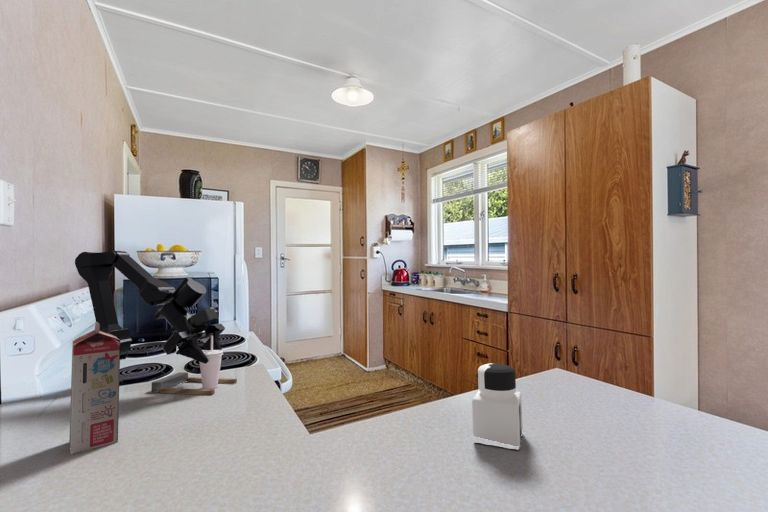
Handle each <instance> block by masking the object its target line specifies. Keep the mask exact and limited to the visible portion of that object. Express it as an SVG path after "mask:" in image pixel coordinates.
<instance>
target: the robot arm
mask: <svg viewBox="0 0 768 512" xmlns="http://www.w3.org/2000/svg"><path fill="white" fill-rule="evenodd" d="M74 266H75V268H76V271H77V272H78V273H77V274H78V275H79V276H80V277H81V278H82V279H83V280H84V281H85V282H86V283H87V287H88V293H89V295H90V300H91V305H92V309H93V314H94V318H95V323H96V322H98V323H99V324H100V330H99V331H102V332H105V333H108V334H111V335H114V336H116V337H117V338H118V339H119V340H120V361H122V360H126V359H127V356H128V354H129V352H130V349H131V347H132V343H131V342H133V339H132V337H131V334H130V333H131V332H130V330H129V328H128V327H127V328H123V327H122V326H121V325H120V323H119V320H118V319H119V318H118V317H117V310H116V306H115V303H114V298H113V294H112V289H111V285H110V278H111V277H110V276H111V275H112V272H113V267H114V268H115V269H117V270H118V272H120V273H121V274H122V275H123V276H124V277H125V278H126V279H127V280H129V281H130V282H131V283H132V284H133V285H134V286H135V287H136V288H137V289H138V294H139V297H141V299H142V300H143V302H144V303H145V304H146V305H148V306H150V307H151V306H152V307H155V306H161V307H160V308H158V309H157V308H156V312H155V315H154V320H160V319H165V320H166V322H167V323H168V324H169V325H170V326H171V328H170V329H169V331H170V332H171V333H172V335H171V336H170V337H168V339H166V341H164V343H163V346H162V350H163V351H164V352H165V354H166V355H167V356H168V355H172V354H176V355H177V356H178V355H179V356H182V357H186V358H189V359H192V360H195V361H197V362H199V363H200V362H202V363H205V364H206V363H207V362H208V361H209V360H208V359H207V357H206V355H205V354H204V353H203V351H204V350H203V349H202V348H201V346H199V344H198V341H201V342H202V343H203V344H202V347H203V348H204V349H205V350H206V351H207V350H211V336H213V350H222V351H223V349H222V347H221V344H220V339H219V338H220V335H221V334H222V333H223V332H224V331H225V330H226V328H225V326H224V325H223V324H222V323H214V324H210V325H209V326H208V323H211V322H213V321H217V320H218V317H219V313H220V312H219V311H218V310H217V309H216V308H214V307H213V306H212V307H208V308H207V309H203V310H201V311H199V312H197V313H191V312H190V311H189V309H188V308H193V307H195V305H196V304H197V303H198V302H199V301H200V300H201V298H202V297H204V295H205V294H206V293H207V289H206V287H205V285H203V284H202V283H200V282H198V281H196V280H193V278H192V277H185V278H184V279H183V280H182V282H181V284H180V285H179V286H177V288H175V287H174V286H173V285H171V284H169V283H167V282H166V281H164V280H161V279H159V278H157V277H154V276H153V275H152V274H151V273H150V272H149V271H147V270H146V269H145V268H144V267H143V266H141V265H140V264H139V263H138V262H137V261H136V260H135V259H134V258H132V257H131V255H130V253H128V252H127V251H124V250H113V249H112V250H108V251H104V252H103V251H102V252H100V251H99V252H96V251H95V252H93V251H92V252H91V251H83V252H80V253H79V254H78V255H77V256H76V257H75V259H74ZM204 329H205V330H204ZM177 349H178V350H177ZM224 356H225V355H224V353H223V355H222V358H223V357H224ZM123 381H124V380H123V379H121V378H119V384H120V383H123Z"/></svg>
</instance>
